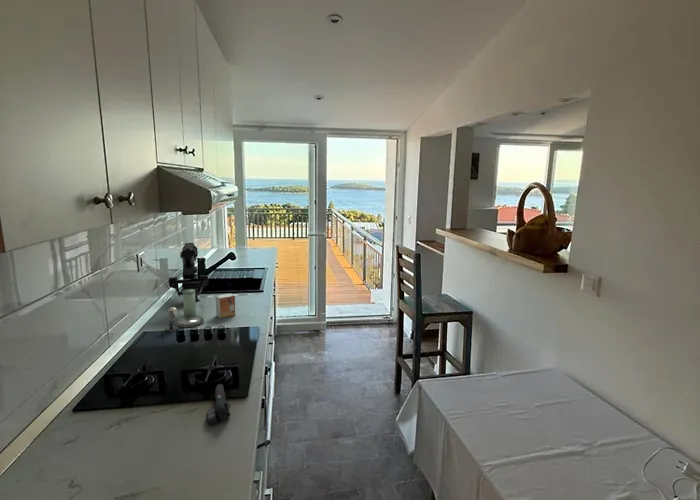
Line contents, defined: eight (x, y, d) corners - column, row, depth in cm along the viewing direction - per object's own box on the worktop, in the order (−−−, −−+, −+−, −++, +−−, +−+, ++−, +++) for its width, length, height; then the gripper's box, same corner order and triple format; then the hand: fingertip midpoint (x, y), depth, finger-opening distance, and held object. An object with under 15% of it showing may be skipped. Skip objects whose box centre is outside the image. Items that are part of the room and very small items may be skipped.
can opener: (231, 425, 107) (230, 406, 106) (205, 428, 106) (204, 410, 105) (232, 391, 124) (232, 376, 123) (209, 394, 122) (209, 378, 121)
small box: (220, 318, 188) (219, 298, 187) (216, 315, 193) (215, 295, 191) (235, 315, 193) (235, 295, 192) (231, 312, 198) (230, 292, 196)
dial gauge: (172, 332, 170) (170, 310, 168) (164, 330, 172) (162, 308, 170) (179, 329, 174) (178, 307, 172) (171, 327, 176) (170, 306, 174)
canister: (191, 312, 196) (190, 288, 193) (198, 315, 193) (197, 290, 190) (181, 316, 191) (179, 291, 189) (188, 318, 188) (186, 293, 185)
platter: (193, 316, 191) (193, 313, 191) (209, 322, 184) (209, 319, 184) (168, 323, 180) (168, 321, 180) (184, 330, 173) (184, 327, 173)
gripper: (167, 262, 191) (167, 289, 183) (207, 260, 198) (208, 286, 190) (169, 273, 200) (169, 300, 192) (207, 271, 206) (209, 296, 198)
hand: (189, 295), depth 192 cm, fingers open, 9 cm apart
